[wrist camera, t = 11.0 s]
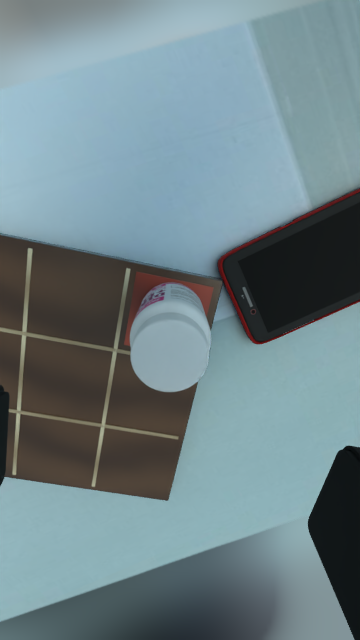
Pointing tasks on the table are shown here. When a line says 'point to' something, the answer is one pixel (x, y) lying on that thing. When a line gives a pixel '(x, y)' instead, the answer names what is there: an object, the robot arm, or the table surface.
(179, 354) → the pill bottle
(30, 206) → the table surface
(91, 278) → the grid board
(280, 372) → the table surface
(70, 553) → the table surface
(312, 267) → the cell phone
